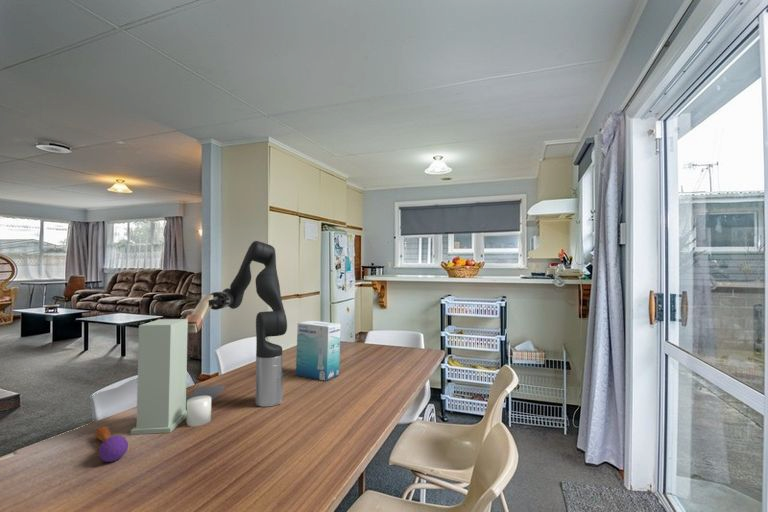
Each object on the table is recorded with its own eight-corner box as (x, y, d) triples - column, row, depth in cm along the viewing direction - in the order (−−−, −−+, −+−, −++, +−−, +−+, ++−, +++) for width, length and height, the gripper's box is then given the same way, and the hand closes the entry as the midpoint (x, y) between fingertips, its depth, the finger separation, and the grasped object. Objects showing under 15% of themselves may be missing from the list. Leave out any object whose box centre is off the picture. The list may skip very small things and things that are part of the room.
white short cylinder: (214, 416, 117) (214, 395, 117) (206, 425, 110) (206, 403, 110) (191, 417, 116) (192, 396, 116) (182, 427, 109) (183, 404, 109)
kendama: (117, 420, 105) (132, 437, 91) (112, 441, 104) (127, 462, 90) (91, 422, 101) (104, 440, 87) (86, 445, 100) (98, 467, 86)
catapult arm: (215, 302, 144) (213, 292, 142) (197, 332, 127) (195, 322, 125) (204, 302, 144) (202, 293, 142) (184, 333, 126) (182, 323, 124)
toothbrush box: (340, 375, 161) (340, 322, 162) (327, 381, 152) (327, 325, 153) (309, 370, 169) (310, 319, 170) (295, 376, 160) (295, 322, 161)
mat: (224, 387, 144) (224, 385, 144) (204, 409, 123) (204, 406, 123) (199, 388, 143) (199, 386, 143) (173, 410, 121) (173, 408, 121)
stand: (190, 413, 119) (192, 318, 120) (170, 432, 105) (172, 325, 106) (155, 414, 118) (157, 319, 119) (130, 434, 104) (133, 325, 105)
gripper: (202, 292, 154) (185, 293, 137) (235, 291, 156) (223, 293, 139) (201, 309, 154) (184, 312, 137) (235, 308, 156) (222, 312, 138)
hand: (204, 302), depth 138 cm, fingers closed on catapult arm, 3 cm apart
